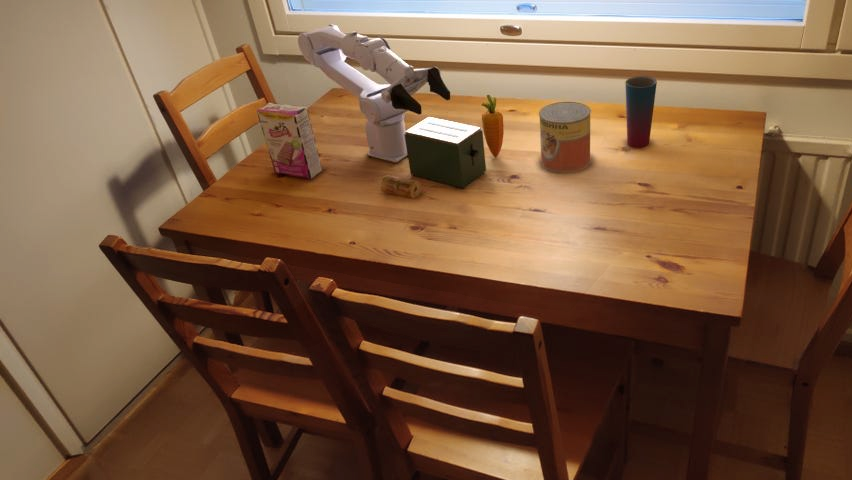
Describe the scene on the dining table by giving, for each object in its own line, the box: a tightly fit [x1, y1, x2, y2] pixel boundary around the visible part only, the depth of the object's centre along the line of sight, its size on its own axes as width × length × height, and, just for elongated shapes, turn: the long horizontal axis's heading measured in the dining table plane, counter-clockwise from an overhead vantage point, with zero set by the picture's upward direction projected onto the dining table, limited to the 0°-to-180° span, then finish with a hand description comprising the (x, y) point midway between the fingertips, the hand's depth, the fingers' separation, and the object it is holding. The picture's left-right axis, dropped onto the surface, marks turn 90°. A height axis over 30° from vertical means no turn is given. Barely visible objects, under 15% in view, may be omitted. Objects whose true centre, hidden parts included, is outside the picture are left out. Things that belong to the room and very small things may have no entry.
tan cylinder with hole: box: [379, 174, 421, 200], centre depth 150 cm, size 8×4×4 cm, turn 62°
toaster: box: [404, 116, 487, 190], centre depth 154 cm, size 16×9×11 cm, turn 55°
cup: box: [624, 75, 658, 149], centre depth 157 cm, size 7×7×15 cm
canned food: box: [538, 101, 592, 174], centre depth 154 cm, size 11×11×12 cm
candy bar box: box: [256, 102, 323, 180], centre depth 160 cm, size 11×5×16 cm, turn 65°
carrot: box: [481, 93, 505, 158], centre depth 158 cm, size 5×5×15 cm
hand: (434, 103), depth 145 cm, fingers open, 7 cm apart
